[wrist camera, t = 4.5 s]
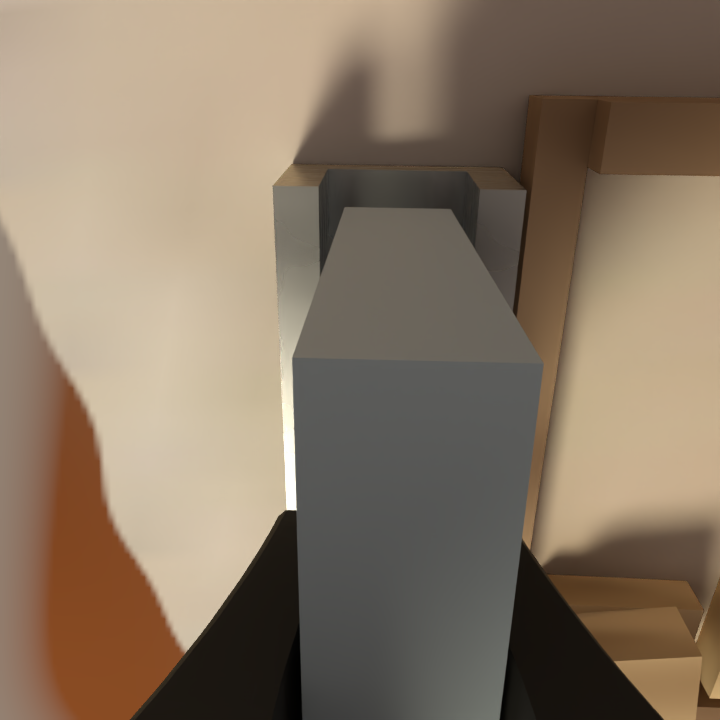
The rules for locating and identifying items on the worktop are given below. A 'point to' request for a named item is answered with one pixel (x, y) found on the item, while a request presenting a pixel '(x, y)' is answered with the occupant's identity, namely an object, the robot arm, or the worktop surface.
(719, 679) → the offcut
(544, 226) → the wooden tray
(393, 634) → the grey flat block
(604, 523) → the worktop surface
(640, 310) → the worktop surface
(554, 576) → the offcut
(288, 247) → the holder
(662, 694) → the offcut
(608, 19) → the worktop surface
